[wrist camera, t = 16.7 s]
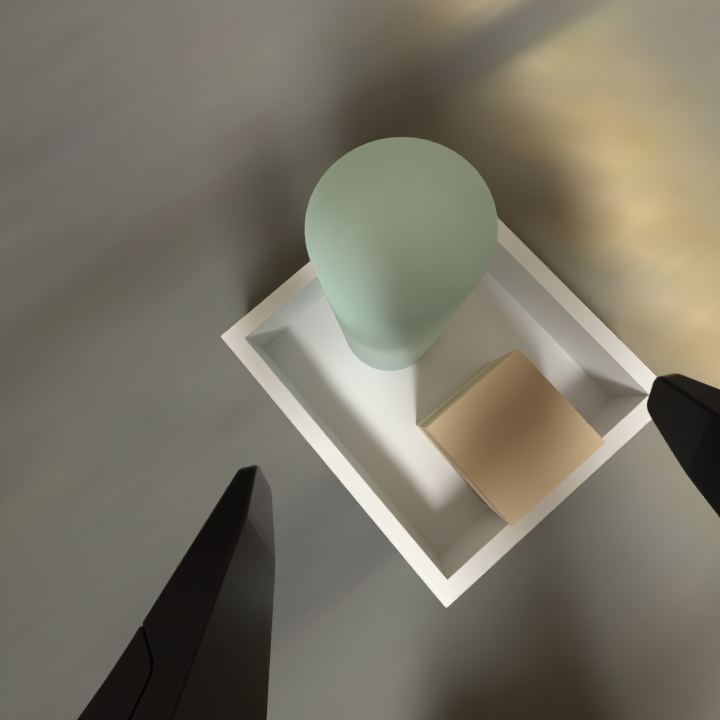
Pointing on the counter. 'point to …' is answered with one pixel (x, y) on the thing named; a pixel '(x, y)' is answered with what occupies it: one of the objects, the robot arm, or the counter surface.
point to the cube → (510, 435)
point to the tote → (427, 391)
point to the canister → (399, 244)
